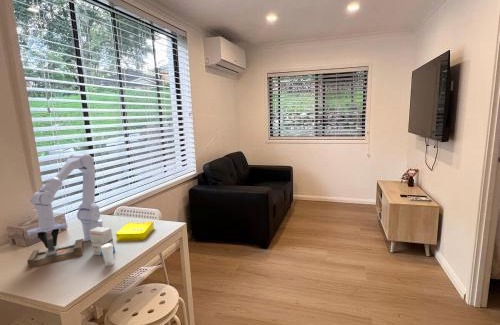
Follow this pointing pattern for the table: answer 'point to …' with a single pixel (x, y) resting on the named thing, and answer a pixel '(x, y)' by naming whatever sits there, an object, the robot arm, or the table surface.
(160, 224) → the table surface
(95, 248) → the ink box
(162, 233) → the table surface
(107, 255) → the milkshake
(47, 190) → the robot arm
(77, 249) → the base
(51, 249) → the sliding jaw
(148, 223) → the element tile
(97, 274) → the table surface
